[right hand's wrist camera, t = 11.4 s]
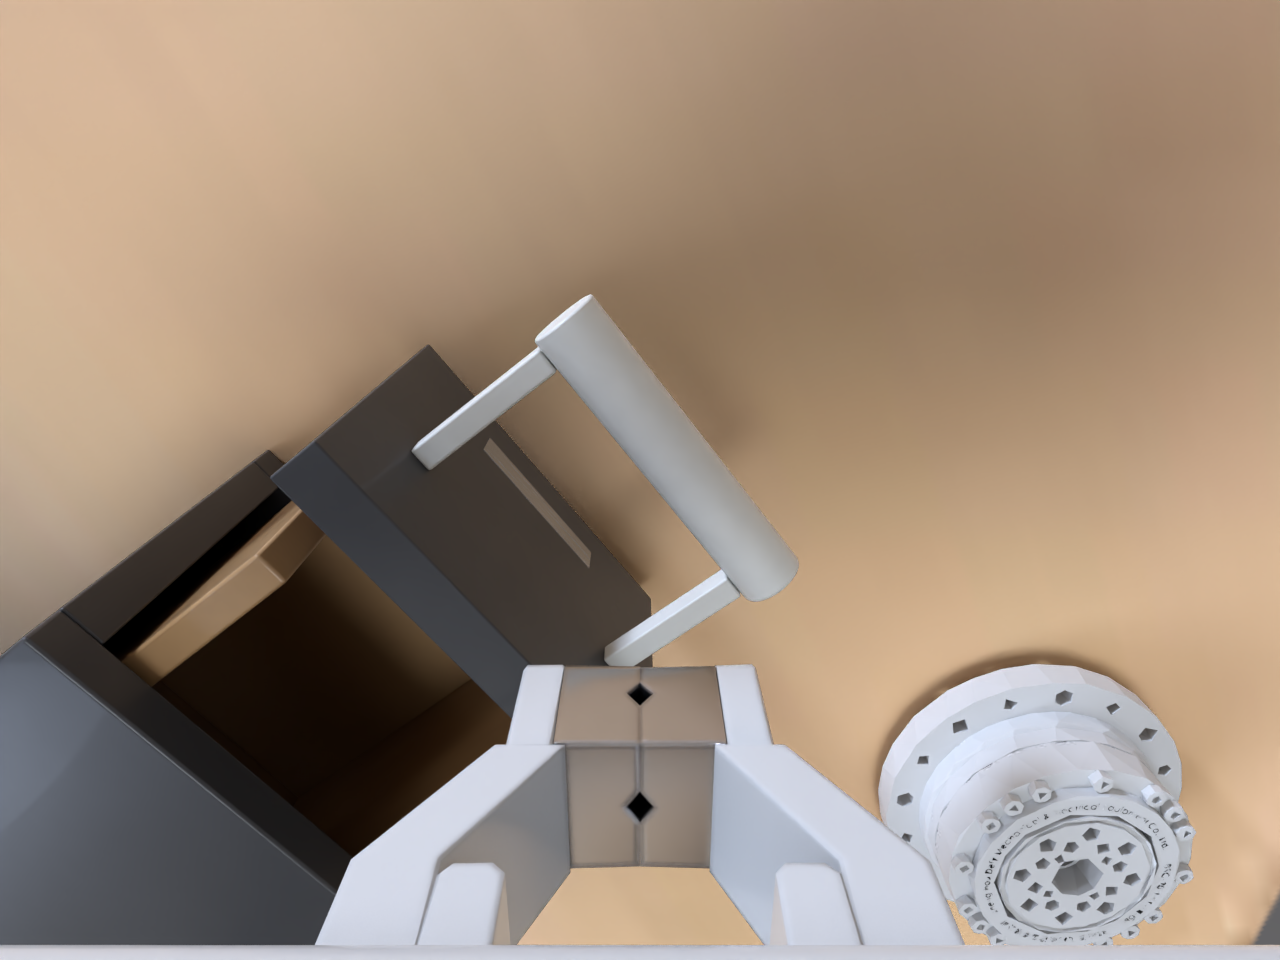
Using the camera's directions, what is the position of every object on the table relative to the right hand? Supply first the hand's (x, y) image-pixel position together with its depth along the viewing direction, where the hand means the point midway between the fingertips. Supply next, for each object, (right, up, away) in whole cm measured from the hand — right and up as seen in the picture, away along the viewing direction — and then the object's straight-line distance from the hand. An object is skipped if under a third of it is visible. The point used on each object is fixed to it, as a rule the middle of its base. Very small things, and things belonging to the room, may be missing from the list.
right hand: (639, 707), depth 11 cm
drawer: (-6, +1, +14) cm, 15 cm away
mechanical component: (+13, -8, +18) cm, 24 cm away
